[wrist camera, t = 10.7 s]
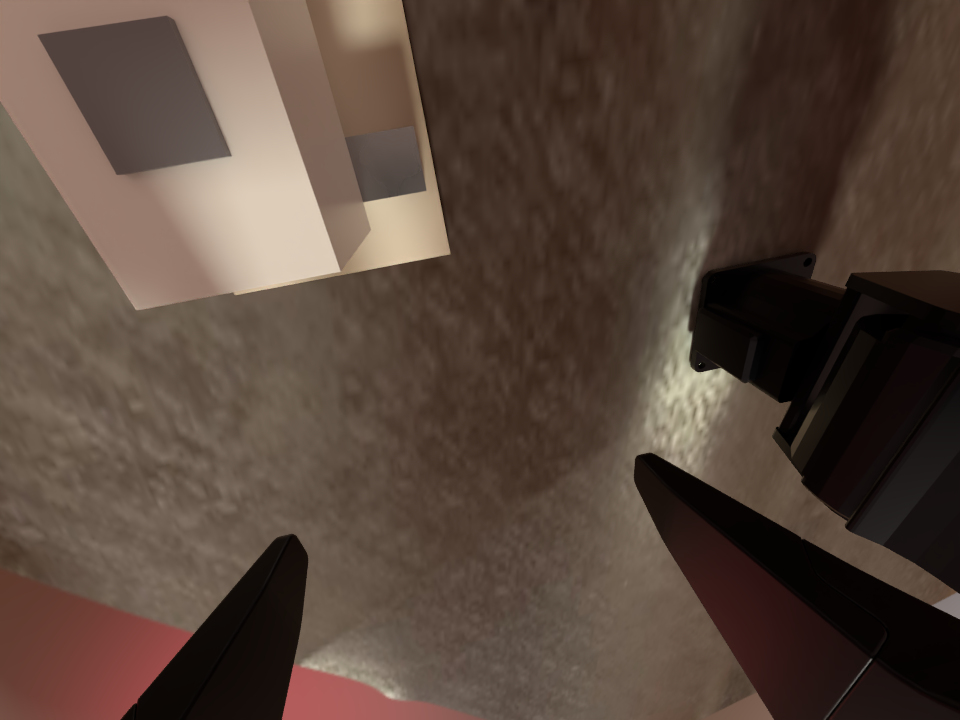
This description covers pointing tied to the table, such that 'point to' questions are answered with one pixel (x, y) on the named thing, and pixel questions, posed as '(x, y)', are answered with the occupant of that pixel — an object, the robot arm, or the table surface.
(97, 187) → the power strip
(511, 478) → the table surface
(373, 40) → the stand
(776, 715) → the robot arm
